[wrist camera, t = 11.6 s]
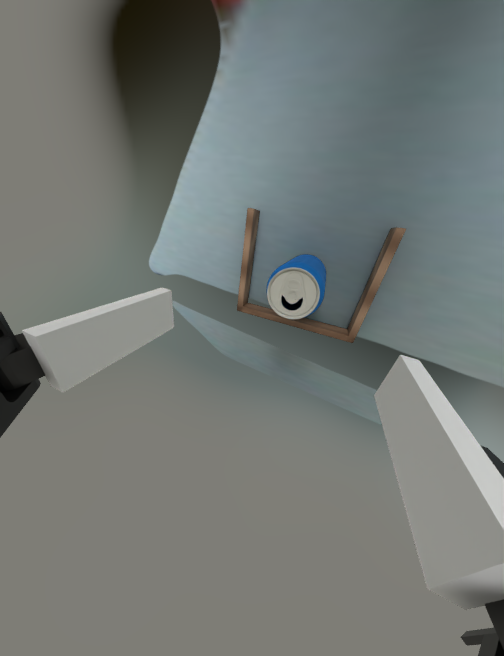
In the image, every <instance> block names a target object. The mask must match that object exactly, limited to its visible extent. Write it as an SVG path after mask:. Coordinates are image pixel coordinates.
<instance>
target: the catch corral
mask: <svg viewBox="0 0 504 656" xmlns="http://www.w3.org/2000/svg"><path fill="white" fill-rule="evenodd" d="M259 213H260V211H259V210H256V209H251V208H248V210H247V219H246V229H245V238H244V248H243V257H242V267H241V276H240V286H239V296H238V305H237V310H238V311H241V312H244V313H248V314H251V315H255V316H258V317H262V318H265V319H269V320H273V321H276V322H280V323H283V324H287V325H290V326H294V327H297V328H301V329H304V330H308V331H312V332H315V333H319V334H323V335H326V336H330V337H333V338H336V339H340V340H344V341H347V342H351V343H353V342H354V339H355V337H356V335H357V333H358V331H359V329H360V327H361V325H362V322H363V320H364V318H365V316H366V314H367V312H368V310H369V307H370V305H371V303H372V301H373V299H374V297H375V295H376V292H377V290H378V288H379V286H380V284H381V282H382V280H383V278H384V275H385V273H386V271H387V269H388V267H389V265H390V263H391V260H392V258H393V256H394V254H395V252H396V250H397V248H398V245H399V243H400V241H401V239H402V237H403V235H404V233H405V230H406V229H405V228H397V227H396V228H391V229H390V231H389V234H388V236H387V238H386V241H385V243H384V245H383V248H382V250H381V252H380V255H379V257H378V259H377V262H376V264H375V266H374V268H373V271H372V273H371V275H370V278H369V280H368V282H367V285H366V287H365V289H364V292H363V294H362V296H361V299H360V301H359V303H358V305H357V308H356V310H355V312H354V315H353V317H352V319H351V322H350V324H349V326H348V329H345V328H341V327H337V326H333V325H330V324H326V323H322V322H318V321H314V320H311V319H307V318H300V319H287V318H284V317H282V316H280V315H278V314H277V313H276V312H275V311H274V310H273V309H269V308H266V307H262V306H258V305H254V304H251V303H248V296H249V289H250V281H251V274H252V266H253V258H254V251H255V243H256V236H257V228H258V220H259Z"/></svg>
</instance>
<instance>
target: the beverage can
mask: <svg viewBox="0 0 504 656" xmlns="http://www.w3.org/2000/svg"><path fill="white" fill-rule="evenodd" d="M325 282H326V269H325V266H324V264H323V263H322V262H321V260H319V259H318V258H317V257H315V256H312V255H300V256H297V257H295V258H293V259H292V260H290V261H288V262H287V263H285V264H283V265H281V266H280V267H278V268H277V269H276V270H275V271H274V272H273V273H272V275H271V276H270V278H269V280H268V283H267V298H268V302H269V304H270V306H271V308H272V309H273V310H274V311H275V312H276V313H277V314H278V315H280V316H282V317H284V318H287V319H300V318H303V317H306V316H309V315H310V314H312V313H313V312H315V311H316V310H317V309H318V307H319V306H320V305H321V303H322V301H323V298H324V293H325Z"/></svg>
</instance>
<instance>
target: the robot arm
mask: <svg viewBox="0 0 504 656" xmlns="http://www.w3.org/2000/svg"><path fill="white" fill-rule="evenodd" d="M172 328H174V320H173V306H172V293H171V290H168V289H165V288H159V289H156V290H152V291H149V292H146V293H143V294H139V295H136V296H133V297H129V298H126V299H123V300H120V301H116V302H113V303H110V304H107V305H103V306H100V307H97V308H93V309H90V310H87V311H84V312H80V313H77V314H74V315H71V316H67V317H64V318H61V319H57V320H55V321H51V322H48V323H44V324H41V325H38V326H35V327H31V328H28V329H25V330H22V332H23V333H22V334H18V335H14V334H13V332H12V331H11V329H10V327H9V325H8V323H7V322H6V320H5V318H4V316H3V314H2V313H1V312H0V437H1V436H2V435H3V433H4V432H5V431H6V429H7V428H8V427H9V426H10V424H11V423H12V422H13V420H14V419H15V418H16V416H17V415H18V413H20V411H21V410H22V409H23V407H24V406H25V405H26V403H27V402H28V401H29V400H30V398H31V397H32V396H33V394H34V393H35V392H36V391H37V389H38V388H39V386H40V381H39V378H41V377H43V376H46V378H47V380H48V382H49V383H50V385H51V386H52V387H54V388H55V389H57V390H59V391H61V392H65V391H67V390H68V389H70V388H72V387H73V386H75V385H77V384H78V383H80V382H82V381H84V380H85V379H87V378H89V377H90V376H92V375H94V374H95V373H97V372H99V371H101V370H102V369H104V368H106V367H108V366H109V365H111V364H113V363H114V362H116V361H118V360H119V359H121V358H123V357H124V356H126V355H128V354H130V353H131V352H133V351H135V350H137V349H138V348H140V347H142V346H143V345H145V344H147V343H148V342H150V341H152V340H154V339H155V338H157V337H159V336H160V335H162V334H164V333H165V332H167V331H169V330H171V329H172ZM374 397H375V401H376V404H377V408H378V411H379V415H380V419H381V422H382V426H383V430H384V433H385V437H386V440H387V444H388V447H389V451H390V455H391V459H392V462H393V465H394V469H395V473H396V477H397V480H398V484H399V488H400V491H401V495H402V498H403V502H404V506H405V509H406V512H407V517H408V520H409V524H410V528H411V531H412V535H413V538H414V542H415V546H416V549H417V553H418V557H419V560H420V563H421V567H422V571H423V575H424V578H425V582H426V586H427V589H428V590H430V591H432V592H434V593H435V594H437V595H439V596H441V597H443V598H445V599H446V600H448V601H450V602H452V603H454V604H456V605H458V606H460V607H461V608H463V609H465V610H467V609H471V608H476V607H480V606H486V609H487V611H488V614H489V616H490V618H491V621H492V623H493V625H494V628H488V629H481V630H473V631H467V632H465V633H464V634H463V635H462V636H461V638H462V640H463V641H464V642H465V644H466V645H478V644H481V647H480V651H479V654H478V656H504V463H503V462H502V461H500V459H499V458H498V457H496V456H495V455H494V454H493V453H492V452H491V451H490V450H489V449H488V448H485V447H483V446H480V445H479V443H478V442H477V441H476V440H475V438H474V436H473V435H472V434H471V432H470V431H469V429H468V428H467V427H466V425H465V424H464V422H463V421H462V420H461V418H460V417H459V415H458V414H457V413H456V411H455V410H454V408H453V407H452V406H451V404H450V403H449V402H448V400H447V399H446V397H445V396H444V395H443V393H442V392H441V390H440V389H439V387H438V386H437V385H436V384H435V382H434V380H433V379H432V378H431V376H430V375H429V373H428V372H427V371H426V369H425V368H424V366H423V365H422V364H421V362H420V361H419V360H417V359H413V358H409V357H406V356H403V355H400V356H399V358H398V359H397V361H396V362H395V364H394V365H393V367H392V368H391V370H390V371H389V373H388V375H387V376H386V378H385V379H384V381H383V382H382V384H381V386H380V387H379V389H378V390H377V392H376V393H375V395H374Z"/></svg>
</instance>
